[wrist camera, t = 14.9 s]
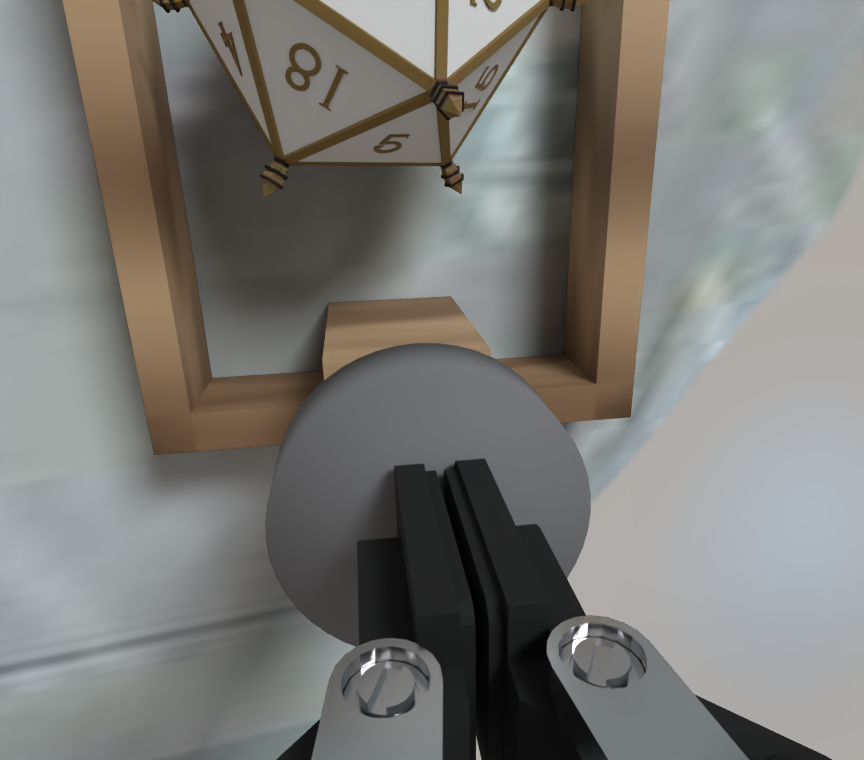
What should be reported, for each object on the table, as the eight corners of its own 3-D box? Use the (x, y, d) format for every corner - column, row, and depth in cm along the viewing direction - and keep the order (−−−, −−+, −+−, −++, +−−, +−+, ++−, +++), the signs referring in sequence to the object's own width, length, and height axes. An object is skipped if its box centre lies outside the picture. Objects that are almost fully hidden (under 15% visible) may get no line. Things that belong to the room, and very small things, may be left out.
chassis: (71, -188, 15) (-187, -512, 8) (633, -168, 17) (856, -421, 9) (182, 428, 21) (94, 574, 13) (593, 397, 22) (713, 513, 15)
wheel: (271, 325, 13) (245, 385, 10) (537, 310, 14) (601, 362, 11) (298, 555, 16) (284, 673, 12) (529, 532, 16) (581, 637, 13)
